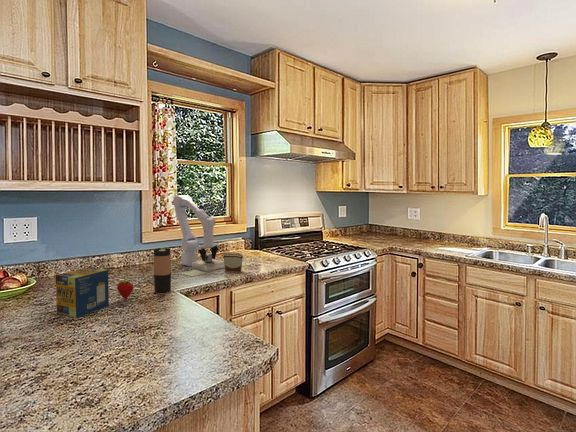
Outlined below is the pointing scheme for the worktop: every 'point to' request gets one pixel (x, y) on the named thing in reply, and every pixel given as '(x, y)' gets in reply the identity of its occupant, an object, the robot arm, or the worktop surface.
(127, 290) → the strawberry
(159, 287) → the travel mug
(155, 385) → the worktop surface
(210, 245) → the robot arm
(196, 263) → the housing
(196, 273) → the mat
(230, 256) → the food container
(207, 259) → the grey cylinder
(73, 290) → the protein box
